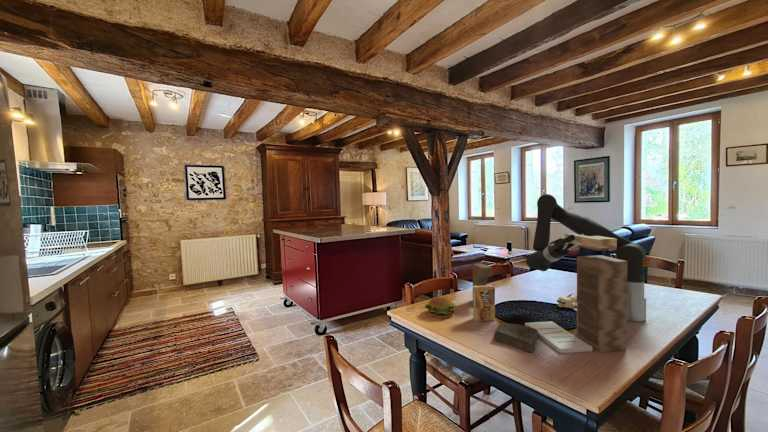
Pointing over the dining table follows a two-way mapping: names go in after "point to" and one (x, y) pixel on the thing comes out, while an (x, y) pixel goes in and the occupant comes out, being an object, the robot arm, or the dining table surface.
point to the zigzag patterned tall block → (602, 302)
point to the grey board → (559, 337)
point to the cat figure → (567, 301)
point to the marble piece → (517, 336)
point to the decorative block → (481, 274)
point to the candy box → (484, 303)
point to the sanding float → (594, 242)
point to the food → (440, 307)
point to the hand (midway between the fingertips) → (578, 236)
